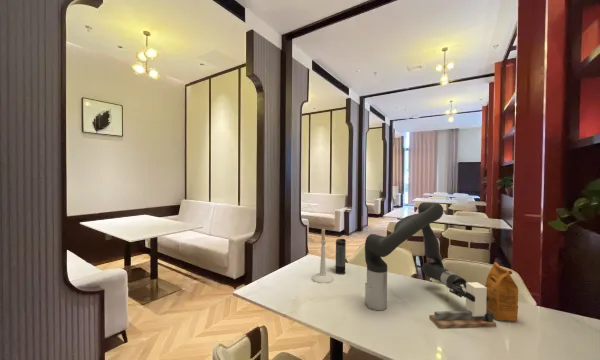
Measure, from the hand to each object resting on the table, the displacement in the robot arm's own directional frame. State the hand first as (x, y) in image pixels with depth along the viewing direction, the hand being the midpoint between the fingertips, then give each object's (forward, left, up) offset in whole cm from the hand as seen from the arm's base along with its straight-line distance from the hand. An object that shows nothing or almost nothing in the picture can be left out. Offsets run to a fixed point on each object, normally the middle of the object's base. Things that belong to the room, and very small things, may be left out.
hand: (480, 299), depth 102 cm
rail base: (-6, +3, -11) cm, 13 cm away
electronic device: (-45, +60, -11) cm, 76 cm away
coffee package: (+15, +8, -11) cm, 20 cm away
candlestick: (-58, +49, -11) cm, 76 cm away
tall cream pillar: (0, +3, -8) cm, 8 cm away
